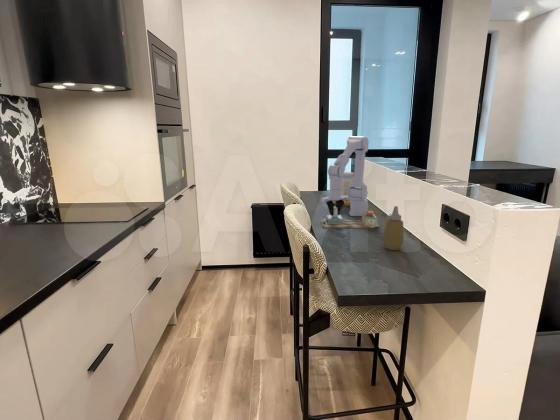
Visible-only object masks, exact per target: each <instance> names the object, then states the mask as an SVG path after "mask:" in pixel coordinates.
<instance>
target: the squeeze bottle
mask: <svg viewBox="0 0 560 420" xmlns="http://www.w3.org/2000/svg"><path fill="white" fill-rule="evenodd" d="M385 221H386V222H385V226H384V232H383V233H384V234H383V238H382V239H383V244H384V247H385V249H387V250H389V251H390V250H391V251H399V250H400V249H401V248H402V245H403V243H404V238H405V237H404V221H403V220H402V215H401V214H399V207H398V206H396V205H394V207H393V210H392V213H390V214H389V215H388V219H386V220H385Z"/></svg>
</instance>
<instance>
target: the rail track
mask: <svg viewBox="0 0 560 420" xmlns="http://www.w3.org/2000/svg"><path fill="white" fill-rule="evenodd" d="M321 226H322V228H338V229H339V228H347V229H348V228H358V229H359V228H360V229H362V228H363V229H366V228H367V229H369V228H370V229H374V227H379V228H380V225H379V223H377V226H371V225H364V223H363V222H362V219H342V224H328V220H327V219H326V218H322V220H321Z"/></svg>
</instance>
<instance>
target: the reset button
mask: <svg viewBox="0 0 560 420" xmlns="http://www.w3.org/2000/svg"><path fill="white" fill-rule="evenodd" d="M365 213H366V214H367V215H366V217H373V214H375V211H373V210H368V211H366V212H365Z"/></svg>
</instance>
